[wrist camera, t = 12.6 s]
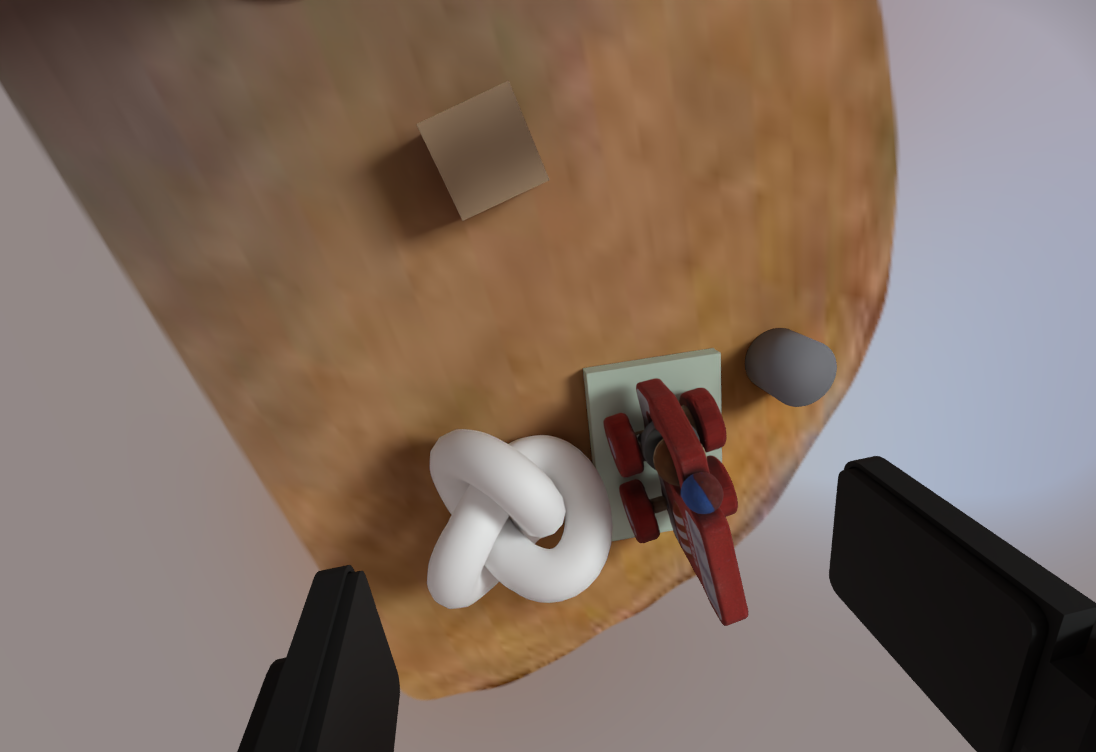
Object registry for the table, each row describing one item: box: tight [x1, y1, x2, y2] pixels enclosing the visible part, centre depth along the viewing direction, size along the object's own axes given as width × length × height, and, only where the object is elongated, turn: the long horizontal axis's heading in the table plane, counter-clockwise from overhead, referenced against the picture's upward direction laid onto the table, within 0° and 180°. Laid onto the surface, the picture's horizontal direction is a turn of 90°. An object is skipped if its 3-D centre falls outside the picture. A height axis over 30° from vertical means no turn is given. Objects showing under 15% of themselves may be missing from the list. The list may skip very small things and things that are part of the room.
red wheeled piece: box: [603, 378, 748, 626], centre depth 32 cm, size 7×12×10 cm, turn 16°
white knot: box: [427, 429, 613, 609], centre depth 33 cm, size 11×12×9 cm
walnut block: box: [416, 81, 549, 221], centre depth 29 cm, size 5×5×4 cm
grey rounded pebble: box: [745, 328, 837, 407], centre depth 36 cm, size 4×4×4 cm
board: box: [583, 348, 722, 541], centre depth 38 cm, size 13×9×1 cm
